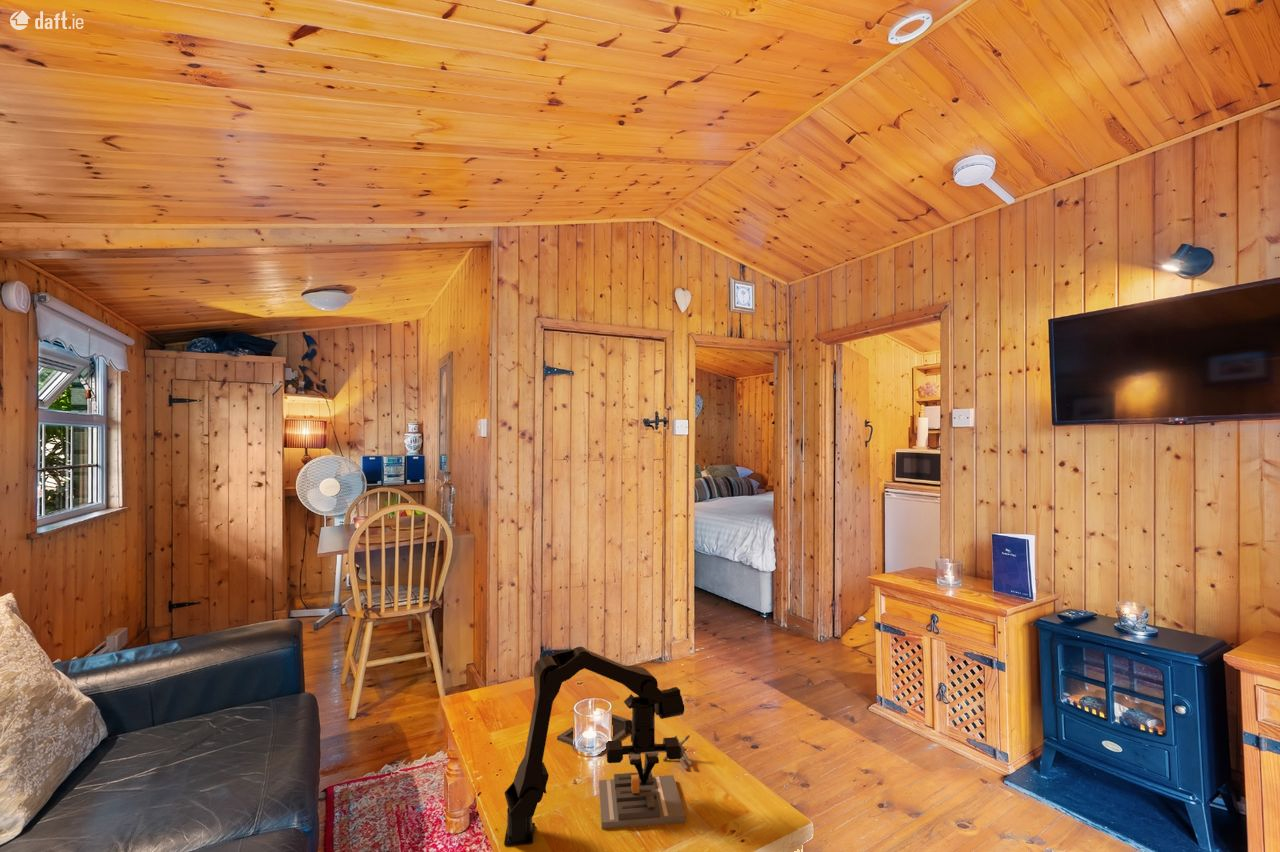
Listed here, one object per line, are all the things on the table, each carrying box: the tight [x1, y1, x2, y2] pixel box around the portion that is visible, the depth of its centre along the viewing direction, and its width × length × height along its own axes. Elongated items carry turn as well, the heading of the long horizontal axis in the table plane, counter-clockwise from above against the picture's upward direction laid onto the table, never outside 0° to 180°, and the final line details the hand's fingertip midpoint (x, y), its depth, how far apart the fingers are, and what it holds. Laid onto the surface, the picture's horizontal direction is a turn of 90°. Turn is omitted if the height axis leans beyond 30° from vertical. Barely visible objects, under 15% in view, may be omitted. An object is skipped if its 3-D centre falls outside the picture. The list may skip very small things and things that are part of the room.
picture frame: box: [556, 713, 629, 747], centre depth 181 cm, size 16×2×21 cm
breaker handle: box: [631, 775, 639, 793], centre depth 146 cm, size 2×2×3 cm
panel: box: [598, 768, 686, 830], centre depth 146 cm, size 17×20×4 cm
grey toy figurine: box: [662, 734, 693, 771], centre depth 164 cm, size 10×6×9 cm
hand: (643, 783), depth 146 cm, fingers closed
